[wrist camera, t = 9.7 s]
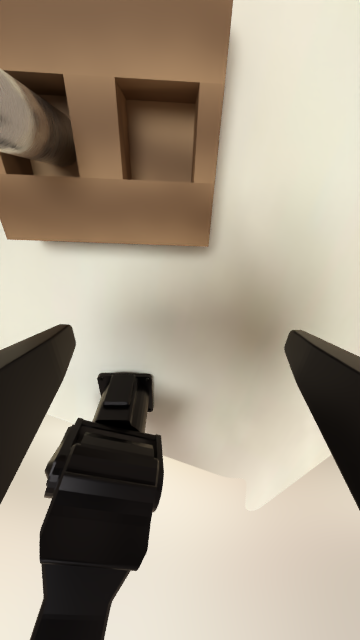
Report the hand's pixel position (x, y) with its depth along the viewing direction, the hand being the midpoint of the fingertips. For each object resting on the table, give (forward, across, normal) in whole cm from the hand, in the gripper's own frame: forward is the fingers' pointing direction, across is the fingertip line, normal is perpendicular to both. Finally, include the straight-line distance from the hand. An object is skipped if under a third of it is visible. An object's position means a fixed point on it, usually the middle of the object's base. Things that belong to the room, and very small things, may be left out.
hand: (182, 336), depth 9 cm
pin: (+12, +8, -8) cm, 16 cm away
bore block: (+12, +5, -8) cm, 15 cm away
